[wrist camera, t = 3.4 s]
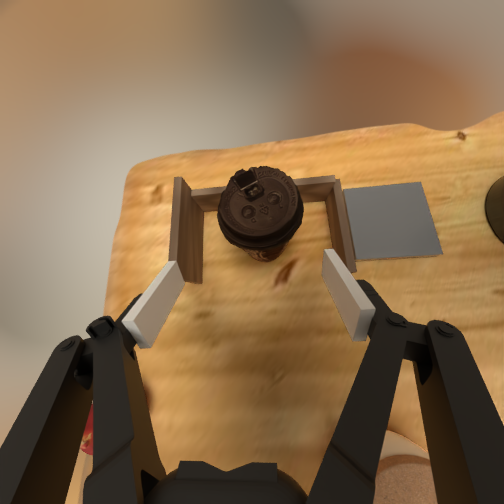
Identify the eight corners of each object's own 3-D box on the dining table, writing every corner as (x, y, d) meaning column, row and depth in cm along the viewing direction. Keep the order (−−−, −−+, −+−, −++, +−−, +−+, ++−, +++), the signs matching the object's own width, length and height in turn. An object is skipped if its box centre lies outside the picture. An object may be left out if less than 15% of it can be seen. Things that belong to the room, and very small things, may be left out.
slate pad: (414, 186, 28) (420, 181, 27) (435, 256, 26) (443, 254, 24) (340, 193, 29) (343, 189, 28) (352, 261, 27) (356, 259, 26)
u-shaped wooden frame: (330, 194, 30) (351, 157, 22) (344, 275, 26) (374, 266, 19) (198, 206, 32) (174, 177, 24) (195, 283, 28) (167, 278, 21)
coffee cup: (244, 212, 30) (225, 152, 18) (295, 219, 29) (313, 159, 17) (233, 263, 29) (202, 236, 16) (287, 273, 27) (300, 252, 15)
